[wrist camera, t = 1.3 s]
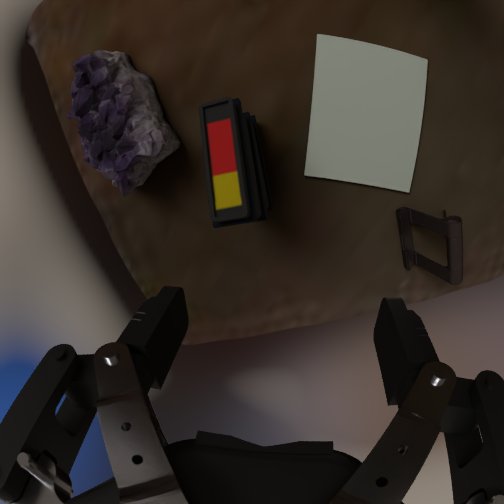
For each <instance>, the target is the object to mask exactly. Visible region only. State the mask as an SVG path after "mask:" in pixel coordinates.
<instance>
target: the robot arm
mask: <svg viewBox="0 0 504 504" xmlns="http://www.w3.org/2000/svg"><path fill="white" fill-rule="evenodd" d="M188 323H189V318H188V312H187V307H186V301H185V295H184V291H183V288H181V287H170V286H164V287H163V288H162V289H161V291H160V292H159V294H158V295H157V296H156V297H151V298H149V299H148V300H147V301H145V302H144V303H143V304H142V305H141V306H140V308H139V309H138V311H137V313H135V315H134V316H133V318H132V320H131V321H130V322H129V324H128V325H127V327H126V328H125V329H124V331H123V332H122V334H121V335H120V337H119V338H118V340H117V341H116V342H111V343H108V344H105V345H103V346H101V347H100V348H99V349H98V350H97V351H96V352H95V354H89V355H88V354H87V355H77V353H76V352H75V350H74V348H73V347H72V346H71V345H68V344H60V345H57V346H54V347H53V348H52V349H50V350H49V351H48V352H47V353H46V355H45V356H44V358H43V359H42V360H41V362H40V363H39V365H38V366H37V367H36V369H35V370H34V372H33V373H32V375H31V377H30V378H29V379H28V381H27V382H26V384H25V385H24V387H23V388H22V390H21V391H20V393H19V394H18V396H17V397H16V399H15V401H14V402H13V404H12V405H11V407H10V409H9V410H8V412H7V414H6V415H5V417H4V419H3V421H2V422H1V424H0V499H1V500H2V501H3V502H5V503H7V504H404V503H403V502H402V499H403V498H404V496H405V495H406V493H407V492H408V490H409V488H410V487H411V485H412V483H413V482H414V480H415V478H416V477H417V475H418V473H419V471H420V470H421V468H422V466H423V464H424V462H425V460H426V459H427V457H428V455H429V453H430V451H431V449H432V447H433V445H434V443H435V441H436V439H437V437H438V434H439V432H444V436H445V441H446V447H447V453H448V458H449V465H450V473H451V480H452V490H453V500H454V504H504V380H503V379H502V378H501V376H500V375H499V374H497V373H496V372H493V371H489V370H485V371H482V372H480V373H479V374H478V375H477V377H476V378H475V380H472V379H465V378H459V377H456V375H455V372H454V371H453V369H452V368H451V367H450V366H448V365H447V364H445V363H442V362H440V361H439V359H438V357H437V354H436V352H435V349H434V347H433V345H432V342H431V340H430V338H429V336H428V333H427V331H426V329H425V326H424V324H423V322H422V320H421V318H420V317H419V316H418V315H417V314H416V313H415V312H414V311H412V310H407V308H406V306H405V304H404V301H403V299H402V298H383V299H382V302H381V305H380V309H379V313H378V317H377V321H376V324H375V328H374V344H375V348H376V352H377V357H378V361H379V365H380V370H381V374H382V379H383V383H384V388H385V393H386V398H387V403H388V406H389V405H398V409H399V410H398V412H397V413H396V415H395V417H394V418H393V420H392V421H391V423H390V425H389V426H388V428H387V429H386V430H385V432H384V434H383V435H382V436H381V438H380V440H379V441H378V442H377V444H376V445H375V447H374V448H373V449H372V451H371V452H370V453H369V455H368V456H367V458H366V459H365V460H364V461H363V463H362V462H360V461H359V460H358V459H356V458H354V457H352V456H350V455H348V454H346V453H343V452H340V451H336V450H333V441H328V442H324V441H323V442H321V441H318V442H317V441H298V442H292V443H287V444H280V445H274V446H266V447H265V446H259V445H256V444H253V443H250V442H247V441H244V440H241V439H238V438H235V437H233V436H230V435H223V434H215V433H210V432H204V431H198V432H197V436H196V439H188V440H182V441H178V442H175V443H172V444H168V442H167V440H166V438H165V436H164V433H163V431H162V429H161V426H160V424H159V422H158V419H157V417H156V414H155V412H154V409H153V407H152V404H151V401H150V399H149V396H148V392H149V390H150V388H155V389H161V387H162V385H163V383H164V381H165V379H166V376H167V374H168V372H169V370H170V368H171V365H172V363H173V361H174V359H175V356H176V354H177V352H178V350H179V347H180V345H181V343H182V341H183V339H184V337H185V334H186V332H187V329H188ZM64 394H65V395H66V398H65V400H64V401H63V403H62V405H61V407H60V409H59V411H58V413H57V414H56V416H55V411H56V407H57V405H58V404H59V402H60V400H61V398H62V397H63V395H64ZM97 411H98V416H99V421H100V425H101V429H102V434H103V438H104V441H105V445H106V449H107V453H108V456H109V460H110V463H111V466H112V469H113V473H114V477H112V478H110V479H109V480H107V481H105V482H103V483H102V484H99V485H97V486H95V487H94V488H92V489H90V490H88V491H86V492H84V493H82V494H80V495H78V496H75V497H73V498H71V497H72V496H73V490H72V482H71V479H70V477H69V473H70V471H71V468H72V466H73V463H74V461H75V459H76V456H77V454H78V452H79V450H80V447H81V445H82V443H83V441H84V438H85V436H86V434H87V432H88V430H89V427H90V425H91V423H92V420H93V419H94V417H95V414H96V412H97ZM478 426H479V427H478ZM479 429H480V431H479ZM480 432H481V435H480ZM481 436H482V439H481ZM482 441H483V443H482Z"/></svg>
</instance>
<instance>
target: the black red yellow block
mask: <svg viewBox="0 0 504 504" xmlns="http://www.w3.org/2000/svg"><path fill="white" fill-rule="evenodd" d="M199 115H200V125H201V136H202V145H203V155H204V164H205V173H206V182H207V191H208V199H209V208H210V216H211V220H212V222H213V227H214V228H218V227H224V226H230V225H237V224H243V223H250V222H256V221H262V220H266V219H267V213H266V211H268V210H273V202H272V197H271V192H270V187H269V182H268V177H267V172H266V167H265V162H264V157H263V152H262V147H261V143H260V138H259V133H258V129H257V124H256V119H255V115H252V116H250V114H249V112H245V113H242V108H241V101H240V100H239V98H236V99H231V97H226V98H222V99H218V100H215V101H211V102H207V103H204V104H201V105H200V106H199Z"/></svg>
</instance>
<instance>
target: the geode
mask: <svg viewBox="0 0 504 504" xmlns="http://www.w3.org/2000/svg"><path fill="white" fill-rule="evenodd" d="M71 65H72V67H73V69H74V70H75V72H76V74H75V80H74V81H73V82H72V86H71V93H70V95H71V97H72V98H73V99H72V106H71V108H72V110H71V111H69V112H68V113H67V118H69V119H72V118H73V119H76V120H78V121H80V122H79V125H78V127H77V128H79V129H80V131H78V133H79V134H80V136H81V142H82V150H83V153H84V154H85V155H86V156H85V157H84V159H83V160H84V161H85V162H86V163H87V164H88V165H91V166H92V167H94V168H96V170H97V171H99V172H102V173H103V175H104V176H105V178H107V179H112V180H113V182H112V185H114V187H119V188H120V190H121V192H122V194H123V196H124V197H125V196H128V195H130V194H131V193H132V191H133V189H134V188H135V187H137V186H140V185H143V183H144V182H145V180H146V179H147V178H148V177H149V176H150V175H151V173H152V172H153V170H154V168H155V167H156V166H157V165H158V164H159V163H160V162H161V161H163V160H164V159H165V158H167V157H168V156H170V155H171V154H173V153H174V152H175V151H176V150H177V149H178V148H179V147H180V145H181V143H180V141H179V139H178V136H177V134H176V133H175V132H174V131H173V129H172V128H171V127H170V126H169V124H168V123H167V122H166V120H165V119H164V117H163V111H162V105H161V104H160V103H159V100H158V97H157V94H156V92H155V87H154V84H153V81H152V79H151V78H150V77H149V75H147V74H146V73H145V74H140V73H139V72H137V71H136V70H135V69H134V68H133V66H132V65H131V63H130V60H129V56H128V55H127V54H126V53H124V52H122V53H121V52H118V51H115V52H109V51H105V50H100V49H99V50H98V51H95V52H94V53H93V54H88V55H85V56H83V57H80V58H79V59H78V60H76V61H75V62H73V63H72V64H71Z"/></svg>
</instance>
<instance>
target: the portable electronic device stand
mask: <svg viewBox="0 0 504 504" xmlns="http://www.w3.org/2000/svg"><path fill="white" fill-rule="evenodd" d="M396 215H397V221H398V227H399V233H400V239H401V246H402V253H403V261H404V267H405V268H406V269H407V270H410V267H409V266H411V265H412V264H415V265H418V266H420V267H422V268H424V269H426V270H427V271H429V272H431V273H433V274H434V275H436V276H438V277H439V278H441V279H443V280H445V281H447V282H448V283H450V284H452V285H458V284H460V283H461V282H462V280H463V235H462V219H461V218H460V217H458V216H449V217H447V218H446V211H445V210H444V219H438V218H436V217H433V216H430V215H427V214H424V213H422V212H419V211H416V210H413V209H410V208H407V207H403V208H399V209H397V210H396ZM410 223H414V224H416V225H419V226H421V227H424V228H426V229H429V230H431V231H434V232H436V233H438V234H441V235H443V236H446V246H447V262H448V266H446V267H444V266H442V265H440V264H438V263H436V262H434V261H432V260H430V259H428V258H427V257H425V256H423V255H421V254H419V253H417V252H415V251H414V250H413V242H412V234H411V227H410Z"/></svg>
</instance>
